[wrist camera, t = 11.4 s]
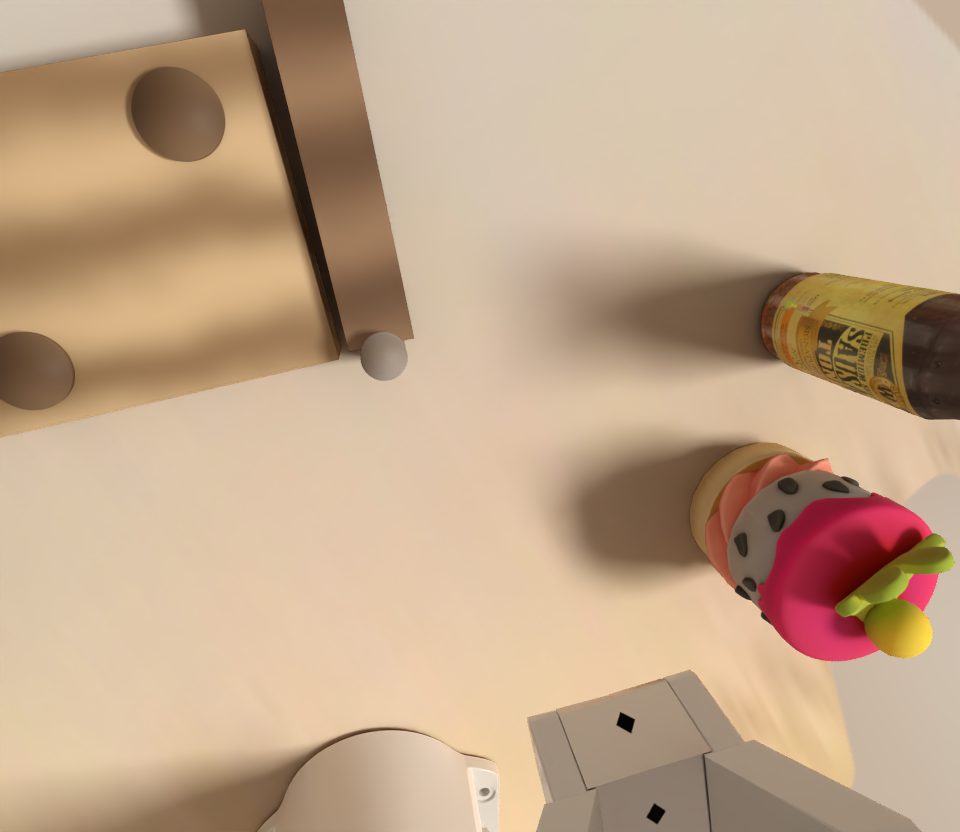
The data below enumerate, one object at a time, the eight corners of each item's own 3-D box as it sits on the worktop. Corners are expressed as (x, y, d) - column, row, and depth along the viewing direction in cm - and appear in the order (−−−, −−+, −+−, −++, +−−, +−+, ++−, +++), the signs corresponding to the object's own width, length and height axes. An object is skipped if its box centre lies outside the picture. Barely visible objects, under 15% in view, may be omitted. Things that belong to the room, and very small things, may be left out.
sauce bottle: (738, 309, 40) (1056, 390, 22) (817, 250, 40) (1210, 280, 21) (780, 385, 42) (1101, 518, 24) (855, 329, 42) (1241, 420, 23)
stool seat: (340, 348, 37) (338, 361, 33) (27, 420, 35) (-8, 440, 32) (256, 46, 31) (243, 26, 28) (-120, 113, 30) (-179, 101, 26)
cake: (841, 506, 46) (1045, 632, 32) (730, 593, 47) (882, 754, 33) (775, 408, 43) (973, 502, 29) (657, 504, 44) (792, 642, 30)
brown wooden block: (415, 353, 37) (422, 373, 32) (358, 365, 37) (356, 387, 32) (332, -40, 30) (325, -87, 26) (260, -30, 30) (240, -76, 25)
